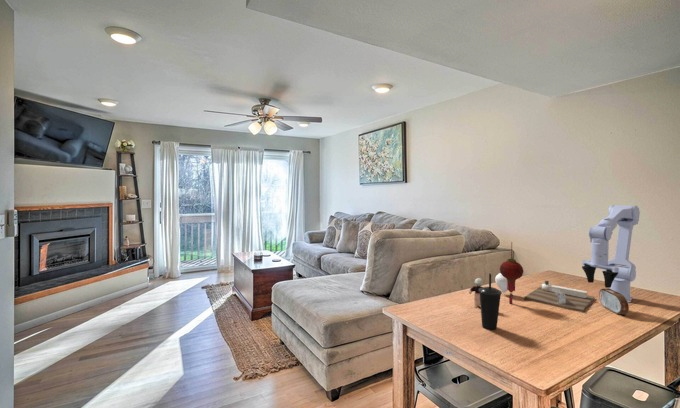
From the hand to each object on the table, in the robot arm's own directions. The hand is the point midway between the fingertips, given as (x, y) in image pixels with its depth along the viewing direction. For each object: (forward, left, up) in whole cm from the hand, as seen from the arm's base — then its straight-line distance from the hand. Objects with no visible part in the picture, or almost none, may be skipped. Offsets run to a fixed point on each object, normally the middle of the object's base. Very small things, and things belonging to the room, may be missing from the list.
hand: (599, 284), depth 136 cm
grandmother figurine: (+39, -35, -10) cm, 54 cm away
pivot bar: (-7, -14, -8) cm, 18 cm away
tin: (+1, +5, -10) cm, 11 cm away
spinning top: (+13, -34, -10) cm, 38 cm away
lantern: (+24, -27, -10) cm, 38 cm away
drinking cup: (+57, -23, -10) cm, 62 cm away
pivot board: (0, -14, -10) cm, 17 cm away
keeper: (+7, -13, -9) cm, 17 cm away
